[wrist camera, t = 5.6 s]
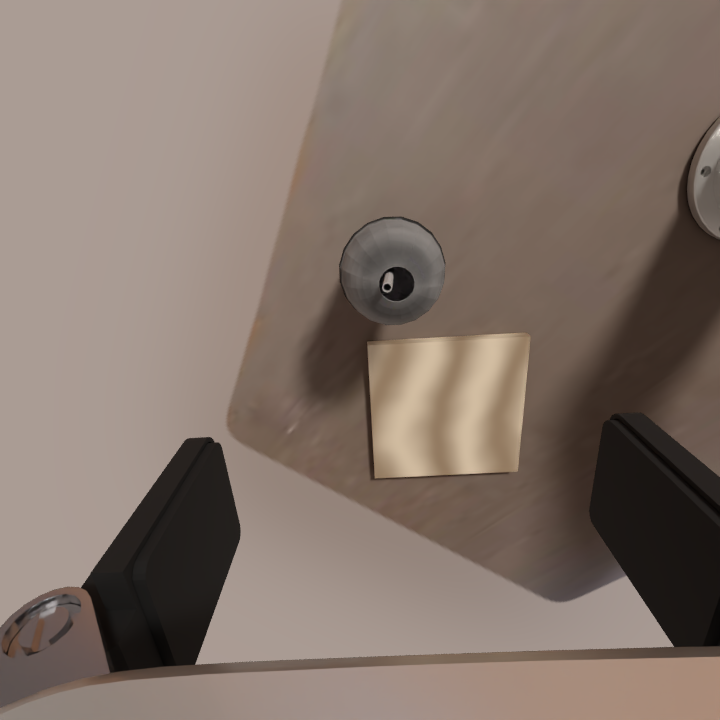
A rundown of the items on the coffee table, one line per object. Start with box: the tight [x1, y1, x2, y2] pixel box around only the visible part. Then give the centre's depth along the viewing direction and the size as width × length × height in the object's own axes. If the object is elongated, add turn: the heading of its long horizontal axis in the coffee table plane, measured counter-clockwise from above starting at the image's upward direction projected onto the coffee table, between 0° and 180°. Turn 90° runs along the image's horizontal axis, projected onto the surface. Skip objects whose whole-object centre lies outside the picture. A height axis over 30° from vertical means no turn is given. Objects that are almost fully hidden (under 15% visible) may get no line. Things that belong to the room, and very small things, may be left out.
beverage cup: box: [339, 217, 445, 325], centre depth 31 cm, size 7×7×20 cm
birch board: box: [367, 333, 531, 478], centre depth 45 cm, size 16×16×1 cm
